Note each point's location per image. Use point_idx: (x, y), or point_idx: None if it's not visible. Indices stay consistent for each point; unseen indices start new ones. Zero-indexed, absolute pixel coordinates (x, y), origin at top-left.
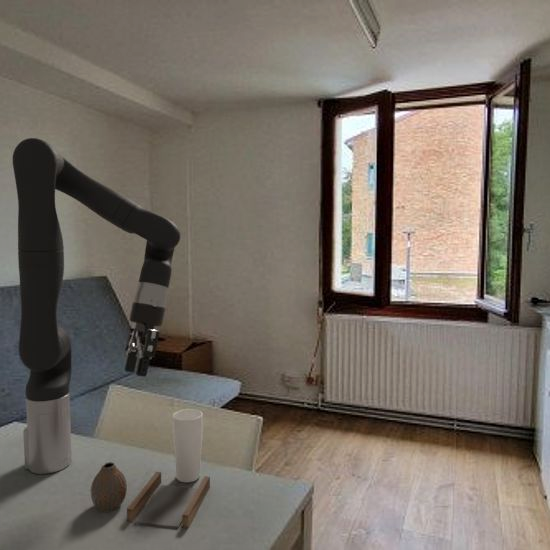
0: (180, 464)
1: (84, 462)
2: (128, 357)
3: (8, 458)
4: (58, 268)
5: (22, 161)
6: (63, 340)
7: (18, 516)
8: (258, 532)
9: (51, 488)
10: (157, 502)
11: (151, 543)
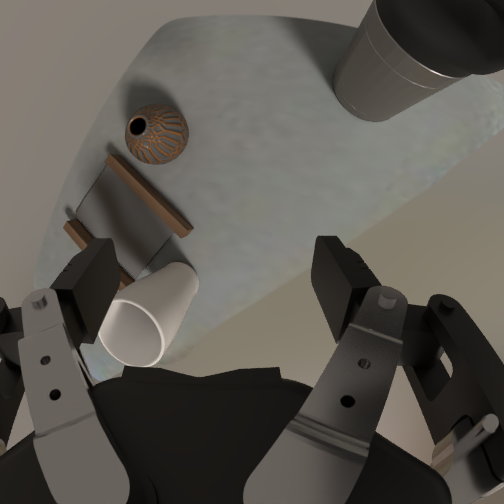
0: (155, 271)
1: (345, 137)
2: (346, 282)
3: None
4: None
5: None
6: None
7: (221, 27)
8: None
9: (278, 69)
10: (131, 207)
11: (70, 174)
